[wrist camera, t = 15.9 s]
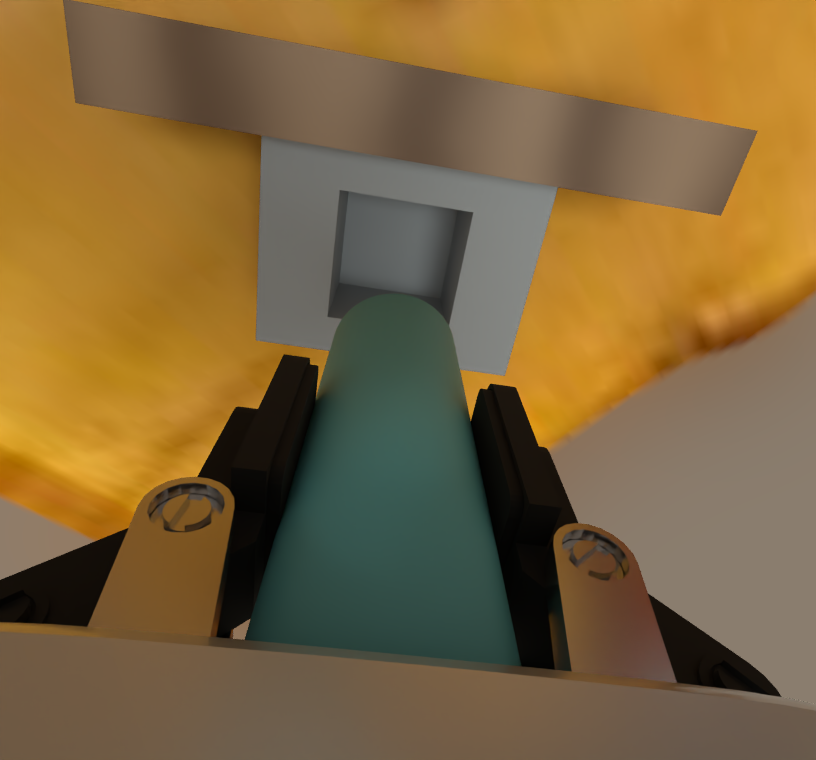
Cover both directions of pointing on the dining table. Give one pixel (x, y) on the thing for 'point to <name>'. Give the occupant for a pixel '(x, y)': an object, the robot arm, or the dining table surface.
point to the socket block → (394, 246)
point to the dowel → (388, 504)
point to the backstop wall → (398, 110)
